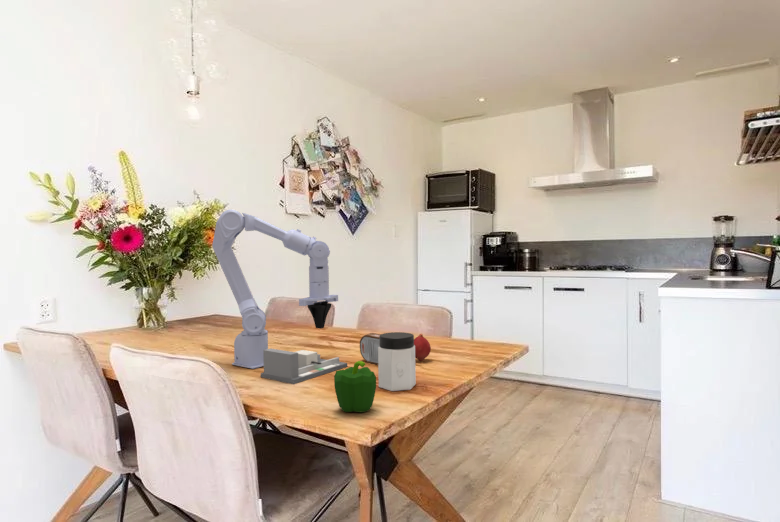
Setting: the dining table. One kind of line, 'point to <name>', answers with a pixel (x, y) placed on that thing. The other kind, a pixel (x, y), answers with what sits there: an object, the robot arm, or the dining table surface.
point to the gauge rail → (295, 366)
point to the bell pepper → (355, 388)
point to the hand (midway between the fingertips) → (319, 328)
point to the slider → (306, 358)
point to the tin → (370, 347)
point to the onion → (421, 347)
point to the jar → (396, 361)
